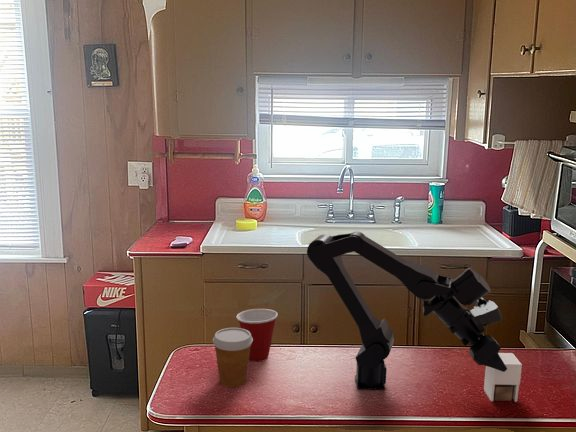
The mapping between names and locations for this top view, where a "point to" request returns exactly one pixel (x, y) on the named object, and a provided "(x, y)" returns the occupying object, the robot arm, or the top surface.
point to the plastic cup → (258, 331)
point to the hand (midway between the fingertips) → (498, 361)
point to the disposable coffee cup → (232, 355)
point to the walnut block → (503, 392)
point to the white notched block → (504, 376)
